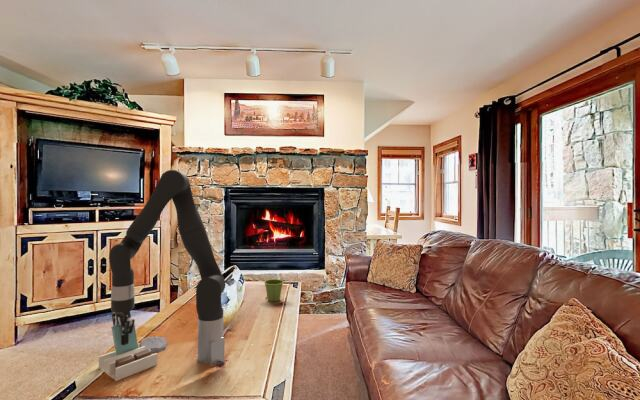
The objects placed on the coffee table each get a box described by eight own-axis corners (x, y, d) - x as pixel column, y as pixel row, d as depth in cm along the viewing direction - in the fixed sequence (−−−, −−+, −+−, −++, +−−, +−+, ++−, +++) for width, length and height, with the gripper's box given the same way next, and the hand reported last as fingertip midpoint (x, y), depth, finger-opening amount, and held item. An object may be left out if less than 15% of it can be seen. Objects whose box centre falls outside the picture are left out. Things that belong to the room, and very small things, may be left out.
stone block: (165, 346, 147) (139, 346, 143) (167, 335, 147) (142, 334, 143) (165, 360, 136) (137, 360, 132) (168, 348, 136) (140, 347, 132)
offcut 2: (151, 364, 125) (151, 351, 125) (137, 370, 121) (137, 356, 120) (147, 362, 126) (147, 348, 126) (133, 367, 122) (133, 353, 122)
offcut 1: (134, 371, 120) (134, 357, 120) (119, 377, 116) (119, 362, 116) (130, 368, 122) (130, 354, 121) (115, 374, 118) (115, 360, 117)
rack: (157, 368, 125) (157, 353, 125) (116, 385, 114) (116, 368, 114) (138, 356, 134) (138, 343, 133) (98, 371, 122) (98, 356, 122)
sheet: (139, 354, 130) (133, 320, 128) (119, 364, 125) (113, 328, 123) (136, 352, 131) (131, 318, 130) (117, 362, 126) (111, 327, 124)
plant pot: (260, 301, 204) (260, 283, 203) (269, 296, 215) (269, 278, 215) (278, 304, 200) (279, 284, 200) (286, 298, 212) (286, 280, 211)
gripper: (142, 297, 125) (142, 344, 125) (124, 291, 133) (124, 334, 133) (120, 303, 119) (120, 352, 119) (103, 295, 127) (103, 341, 127)
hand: (122, 342), depth 126 cm, fingers open, 3 cm apart
